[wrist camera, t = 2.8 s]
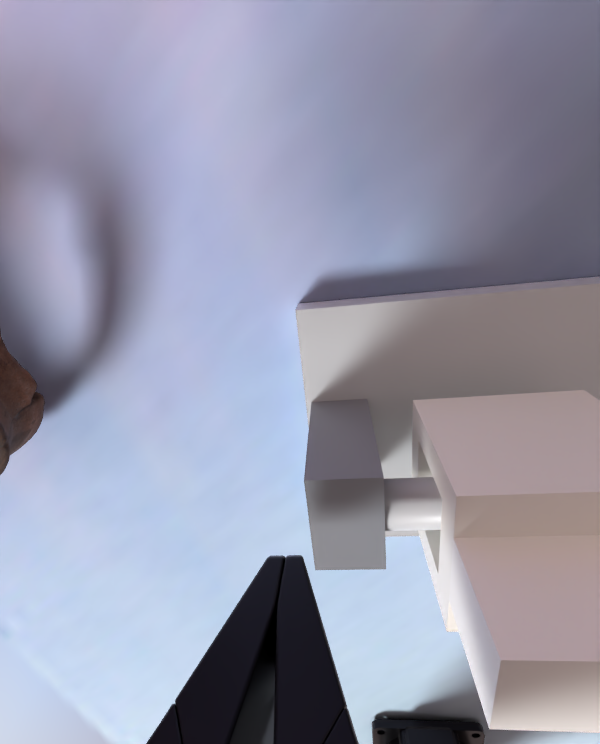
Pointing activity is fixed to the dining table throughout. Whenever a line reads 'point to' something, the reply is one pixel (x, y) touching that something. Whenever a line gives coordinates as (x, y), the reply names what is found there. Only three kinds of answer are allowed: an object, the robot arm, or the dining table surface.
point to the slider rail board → (421, 393)
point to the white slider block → (519, 549)
